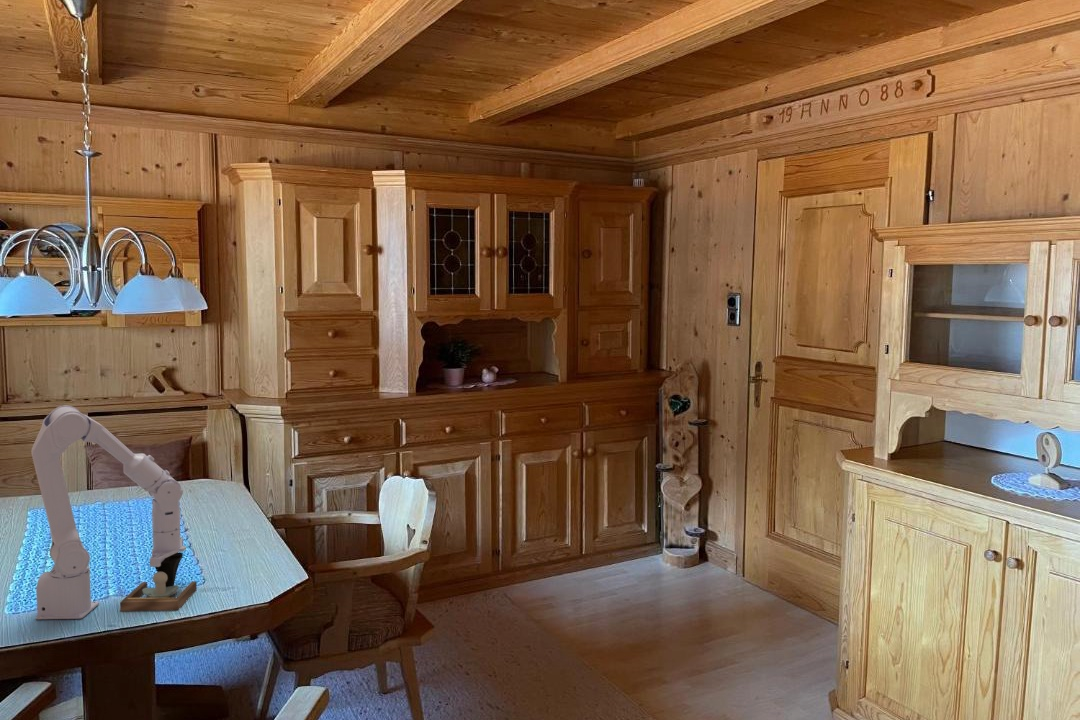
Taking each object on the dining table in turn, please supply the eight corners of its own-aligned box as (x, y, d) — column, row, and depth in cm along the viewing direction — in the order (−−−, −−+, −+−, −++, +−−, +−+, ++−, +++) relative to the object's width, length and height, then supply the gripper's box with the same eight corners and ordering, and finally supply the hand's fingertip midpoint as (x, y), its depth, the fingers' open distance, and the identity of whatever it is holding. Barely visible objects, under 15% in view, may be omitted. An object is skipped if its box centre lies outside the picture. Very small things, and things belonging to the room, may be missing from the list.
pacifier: (145, 593, 179) (141, 603, 174) (145, 566, 179) (140, 575, 173) (180, 590, 182) (177, 599, 176) (180, 563, 181) (176, 572, 176)
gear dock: (120, 611, 169) (120, 600, 169) (142, 590, 181) (142, 580, 181) (178, 610, 170) (177, 599, 170) (196, 589, 182) (196, 580, 182)
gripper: (172, 538, 172) (174, 598, 174) (195, 519, 187) (197, 574, 188) (139, 539, 172) (141, 599, 173) (165, 519, 186) (166, 574, 187)
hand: (168, 586), depth 180 cm, fingers closed
